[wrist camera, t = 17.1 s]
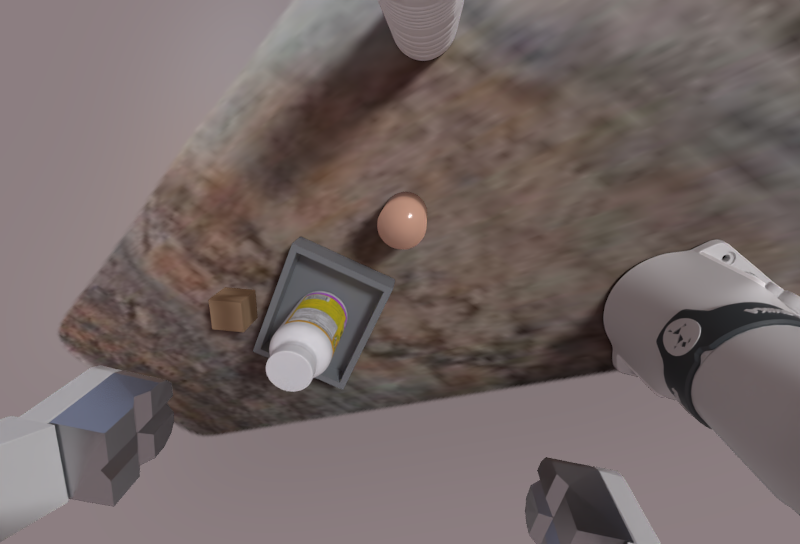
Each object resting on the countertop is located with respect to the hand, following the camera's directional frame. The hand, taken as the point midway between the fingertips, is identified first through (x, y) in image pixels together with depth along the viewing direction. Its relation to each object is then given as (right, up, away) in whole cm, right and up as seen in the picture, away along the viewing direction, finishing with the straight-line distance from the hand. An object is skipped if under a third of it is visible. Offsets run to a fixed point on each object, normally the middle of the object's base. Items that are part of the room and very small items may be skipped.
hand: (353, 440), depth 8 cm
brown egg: (+2, +10, +36) cm, 37 cm away
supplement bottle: (-9, -2, +41) cm, 42 cm away
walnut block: (-20, 0, +42) cm, 46 cm away
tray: (-9, -1, +41) cm, 42 cm away
